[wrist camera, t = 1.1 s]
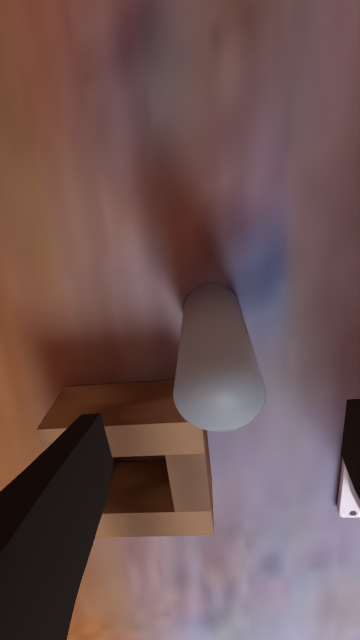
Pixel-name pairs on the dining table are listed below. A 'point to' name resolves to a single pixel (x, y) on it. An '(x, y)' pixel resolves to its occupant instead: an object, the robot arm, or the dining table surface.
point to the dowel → (216, 363)
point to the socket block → (143, 476)
